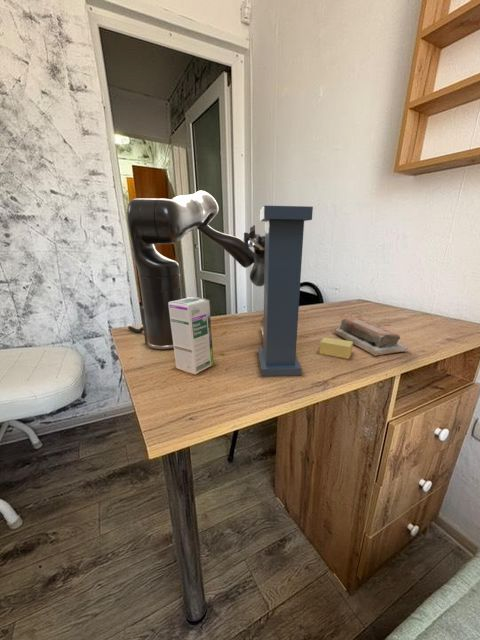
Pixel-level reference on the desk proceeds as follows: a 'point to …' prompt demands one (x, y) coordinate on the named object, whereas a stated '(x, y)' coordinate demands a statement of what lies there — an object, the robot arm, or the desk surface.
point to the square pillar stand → (282, 287)
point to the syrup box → (191, 334)
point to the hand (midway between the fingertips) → (268, 228)
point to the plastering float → (369, 336)
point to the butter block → (336, 347)
